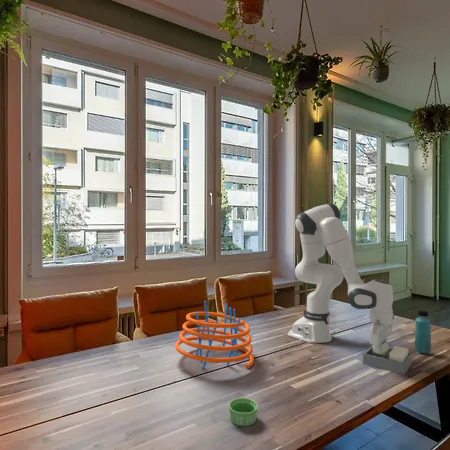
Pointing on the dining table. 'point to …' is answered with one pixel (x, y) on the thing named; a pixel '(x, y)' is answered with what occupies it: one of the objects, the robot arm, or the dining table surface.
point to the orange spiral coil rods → (216, 337)
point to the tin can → (382, 350)
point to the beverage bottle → (422, 333)
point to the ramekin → (243, 411)
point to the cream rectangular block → (398, 354)
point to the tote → (387, 362)
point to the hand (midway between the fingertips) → (380, 349)
